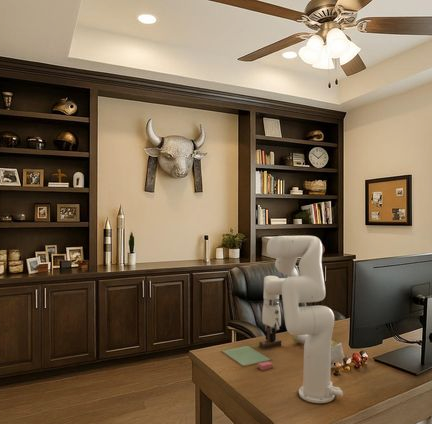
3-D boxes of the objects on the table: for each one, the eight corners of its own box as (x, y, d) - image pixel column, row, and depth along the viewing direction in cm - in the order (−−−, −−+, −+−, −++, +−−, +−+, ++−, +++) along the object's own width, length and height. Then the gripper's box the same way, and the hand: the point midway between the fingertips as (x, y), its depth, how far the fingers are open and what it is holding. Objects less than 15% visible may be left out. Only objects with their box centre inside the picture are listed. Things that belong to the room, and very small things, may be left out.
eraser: (258, 368, 161) (258, 363, 161) (268, 365, 163) (268, 361, 163) (262, 370, 158) (262, 365, 158) (272, 368, 161) (272, 363, 161)
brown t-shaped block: (259, 346, 186) (259, 328, 186) (276, 343, 191) (276, 325, 191) (263, 349, 183) (264, 331, 183) (281, 345, 188) (281, 328, 188)
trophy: (291, 327, 192) (330, 345, 165) (303, 325, 195) (344, 343, 169) (290, 344, 192) (330, 365, 165) (303, 342, 195) (343, 362, 169)
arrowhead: (331, 370, 160) (331, 346, 160) (327, 368, 162) (327, 344, 162) (346, 366, 164) (346, 343, 164) (342, 364, 166) (342, 341, 166)
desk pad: (271, 360, 170) (271, 359, 170) (243, 366, 162) (243, 365, 162) (247, 346, 187) (247, 345, 187) (221, 351, 179) (221, 350, 179)
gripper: (287, 304, 182) (286, 343, 182) (268, 297, 196) (267, 334, 196) (274, 306, 178) (273, 346, 178) (255, 299, 192) (255, 336, 192)
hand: (270, 339), depth 187 cm, fingers closed on brown t-shaped block, 2 cm apart
